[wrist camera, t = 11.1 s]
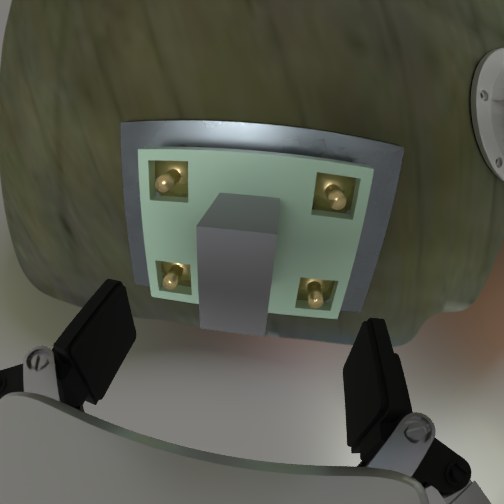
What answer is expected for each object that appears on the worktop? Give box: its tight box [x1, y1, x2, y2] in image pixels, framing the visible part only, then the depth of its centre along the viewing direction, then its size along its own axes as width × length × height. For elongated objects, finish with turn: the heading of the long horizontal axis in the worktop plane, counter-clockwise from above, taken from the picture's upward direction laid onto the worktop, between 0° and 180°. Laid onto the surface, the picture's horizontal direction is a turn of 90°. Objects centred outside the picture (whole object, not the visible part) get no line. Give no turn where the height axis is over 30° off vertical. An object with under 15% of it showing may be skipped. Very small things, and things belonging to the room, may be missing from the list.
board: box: [138, 147, 374, 336], centre depth 17 cm, size 14×11×6 cm
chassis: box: [121, 120, 404, 312], centre depth 20 cm, size 20×14×5 cm
